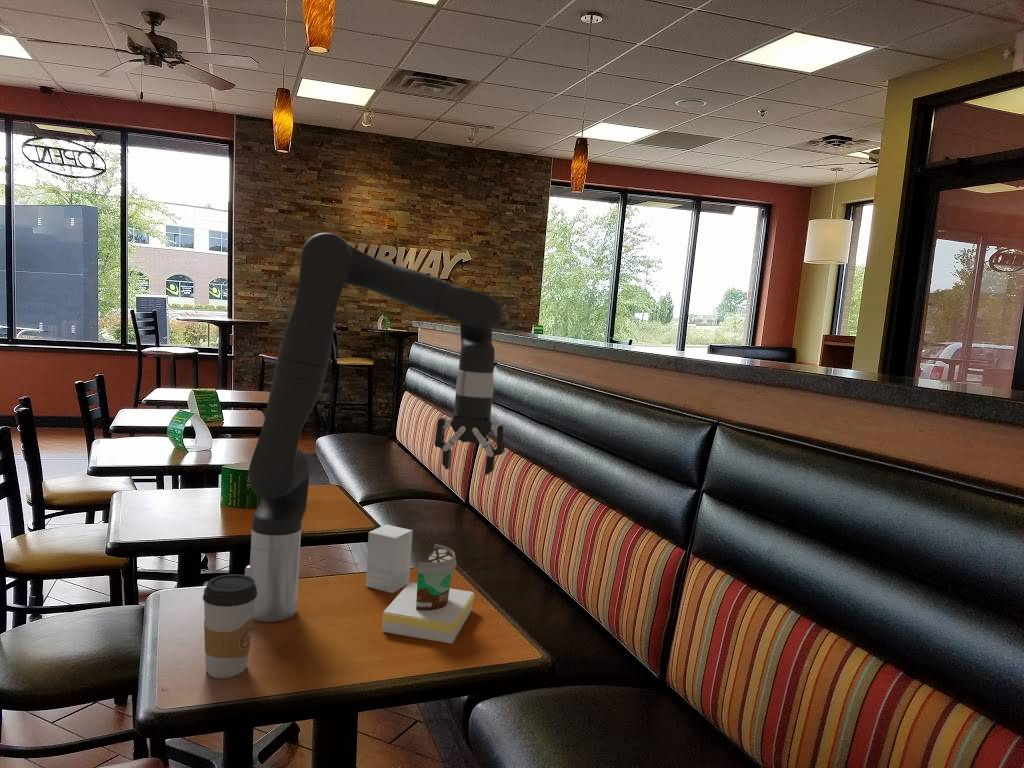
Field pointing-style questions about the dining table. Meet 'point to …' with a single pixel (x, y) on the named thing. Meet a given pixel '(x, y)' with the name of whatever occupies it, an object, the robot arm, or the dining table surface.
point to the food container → (435, 578)
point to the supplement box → (389, 558)
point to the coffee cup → (228, 623)
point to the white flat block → (427, 616)
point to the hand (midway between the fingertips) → (467, 471)
